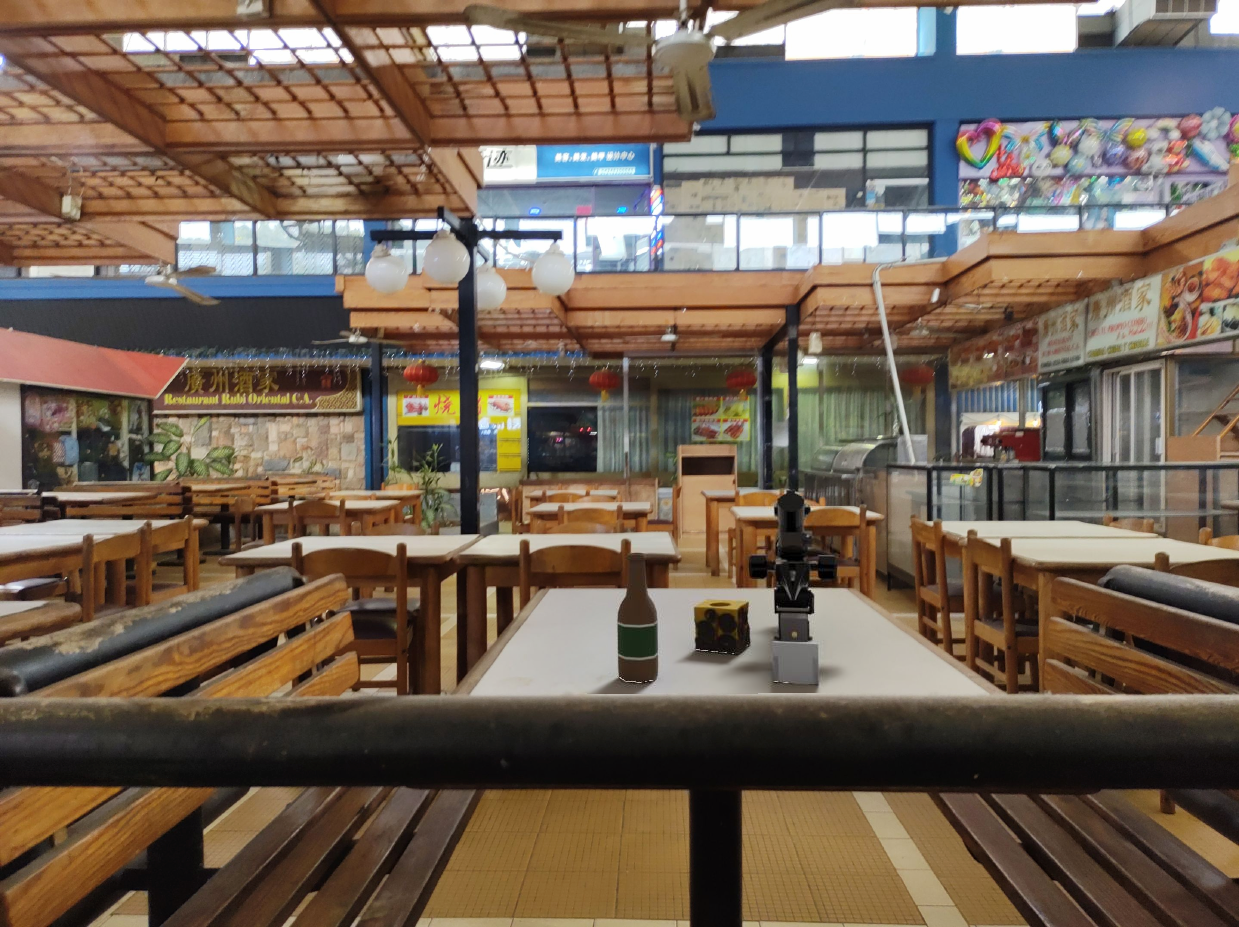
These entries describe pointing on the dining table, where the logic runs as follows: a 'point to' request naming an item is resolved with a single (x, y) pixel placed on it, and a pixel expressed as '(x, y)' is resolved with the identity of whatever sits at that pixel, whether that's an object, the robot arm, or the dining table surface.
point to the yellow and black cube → (722, 626)
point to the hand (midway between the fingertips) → (793, 599)
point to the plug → (794, 627)
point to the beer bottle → (637, 626)
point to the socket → (795, 662)
